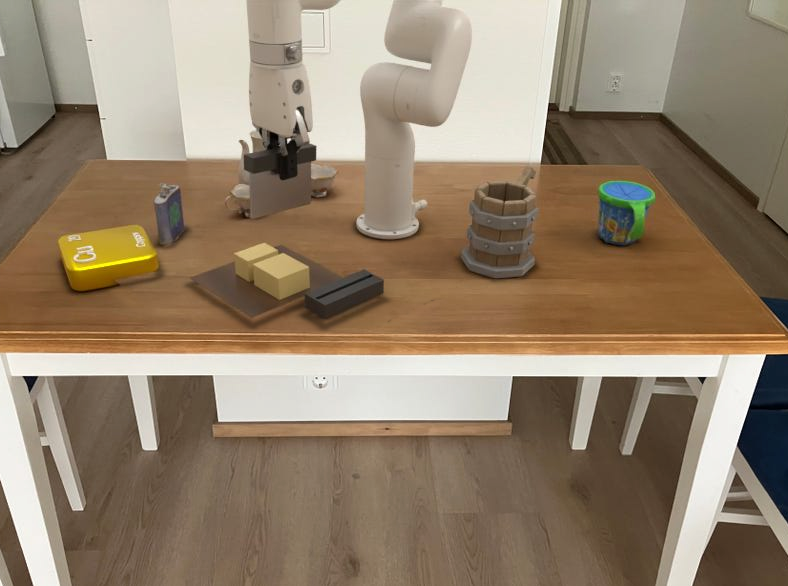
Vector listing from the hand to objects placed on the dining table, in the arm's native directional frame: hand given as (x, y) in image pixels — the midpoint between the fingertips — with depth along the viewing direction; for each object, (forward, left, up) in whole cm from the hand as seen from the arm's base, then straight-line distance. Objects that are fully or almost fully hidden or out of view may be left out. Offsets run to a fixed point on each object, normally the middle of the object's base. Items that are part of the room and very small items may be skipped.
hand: (282, 174), depth 122 cm
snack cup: (-63, +26, -21) cm, 71 cm away
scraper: (+1, 0, -6) cm, 6 cm away
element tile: (+18, -28, -21) cm, 39 cm away
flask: (+3, -32, -21) cm, 38 cm away
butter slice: (+1, -7, -19) cm, 21 cm away
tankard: (-40, +16, -21) cm, 48 cm away
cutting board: (+1, -4, -21) cm, 21 cm away
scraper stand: (-4, +11, -21) cm, 24 cm away
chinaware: (-24, -34, -21) cm, 46 cm away
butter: (+1, 0, -19) cm, 20 cm away
